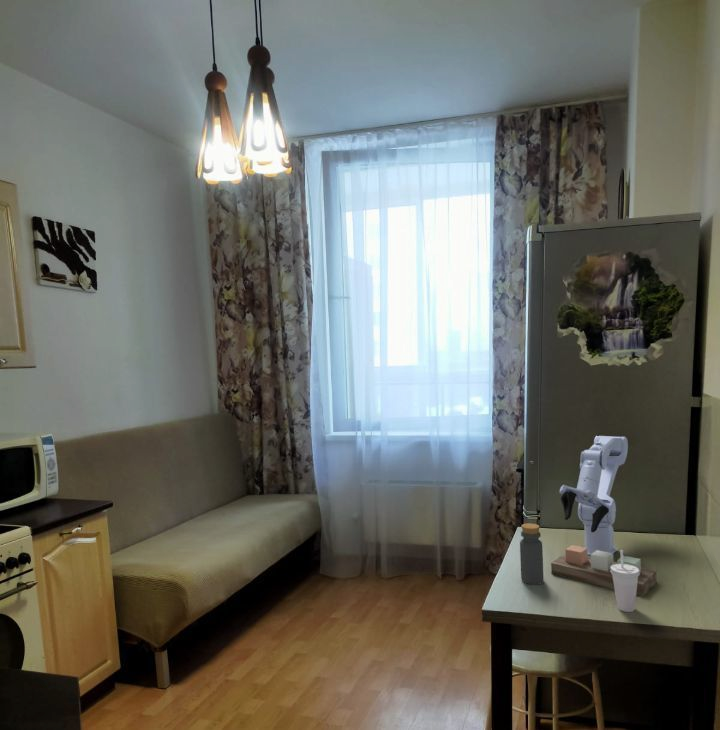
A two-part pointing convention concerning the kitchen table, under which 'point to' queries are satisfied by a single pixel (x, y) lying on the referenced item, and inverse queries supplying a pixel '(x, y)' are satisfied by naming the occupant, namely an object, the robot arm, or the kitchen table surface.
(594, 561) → the white cube
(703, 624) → the kitchen table surface
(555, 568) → the brown wooden tray
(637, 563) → the green cube
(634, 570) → the smoothie
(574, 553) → the salmon cube
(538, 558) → the bottle
